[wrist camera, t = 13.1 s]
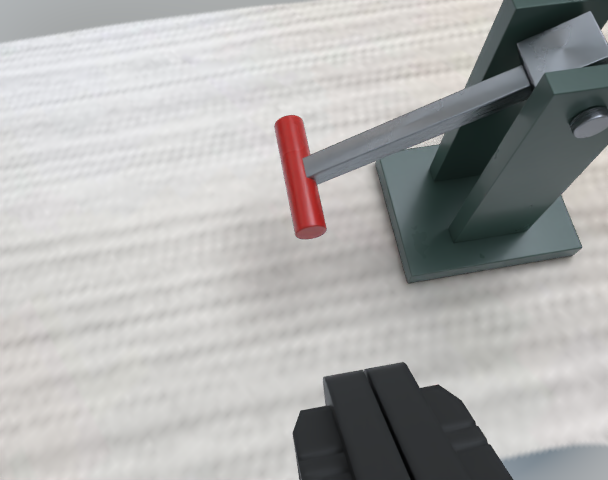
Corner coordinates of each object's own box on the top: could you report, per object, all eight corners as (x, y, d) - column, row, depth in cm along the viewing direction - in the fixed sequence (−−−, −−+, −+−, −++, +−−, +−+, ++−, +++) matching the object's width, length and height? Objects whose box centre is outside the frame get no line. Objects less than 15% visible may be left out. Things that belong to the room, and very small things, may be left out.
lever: (308, 245, 27) (285, 230, 25) (287, 139, 29) (263, 117, 27) (631, 127, 22) (635, 96, 20) (574, 11, 24) (572, -27, 22)
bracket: (407, 283, 32) (490, 142, 19) (375, 163, 35) (426, -31, 22) (573, 255, 33) (763, 102, 20) (527, 141, 36) (664, -59, 23)
